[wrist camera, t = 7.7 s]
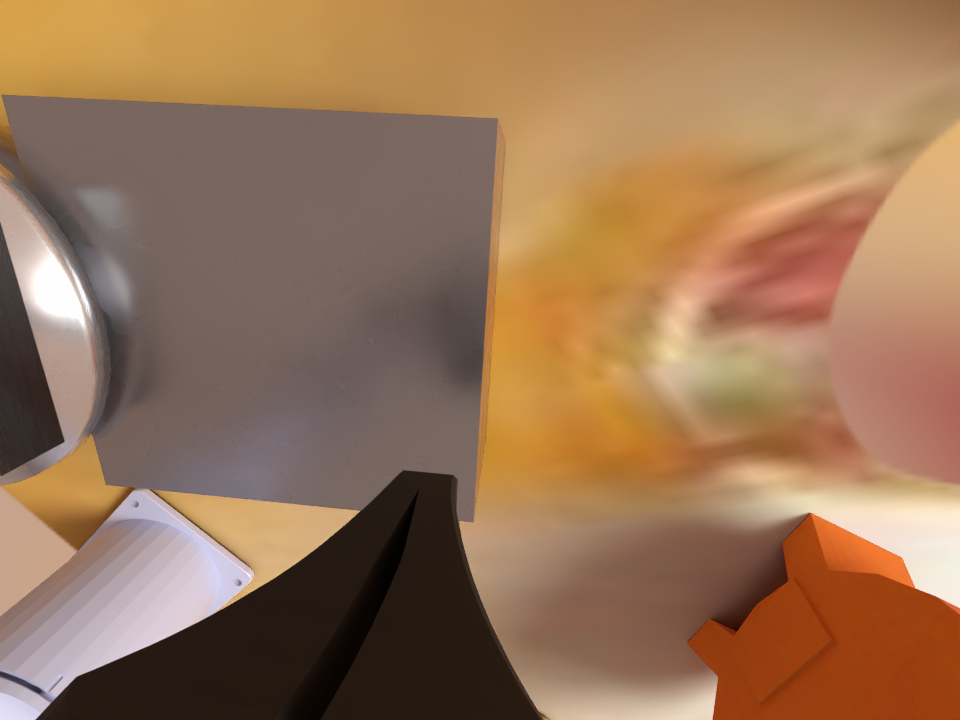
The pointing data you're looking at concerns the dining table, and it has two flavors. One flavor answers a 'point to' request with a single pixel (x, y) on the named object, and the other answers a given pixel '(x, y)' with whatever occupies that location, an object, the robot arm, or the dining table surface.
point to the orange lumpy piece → (838, 640)
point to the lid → (45, 340)
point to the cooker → (278, 289)
